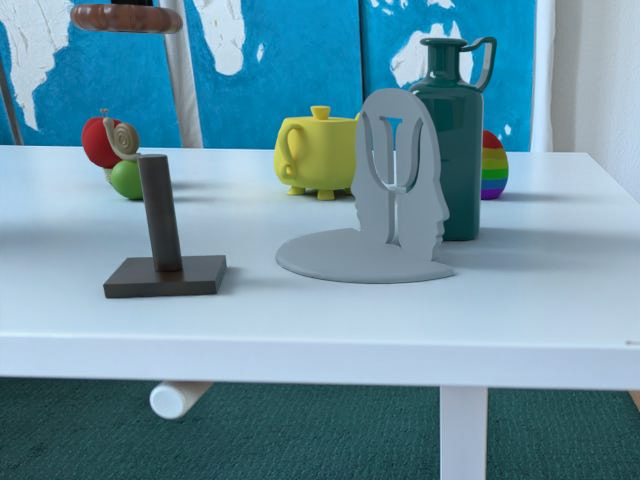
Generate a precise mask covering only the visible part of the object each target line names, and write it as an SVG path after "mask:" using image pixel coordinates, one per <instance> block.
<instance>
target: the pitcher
mask: <svg viewBox="0 0 640 480" xmlns="http://www.w3.org/2000/svg"><path fill="white" fill-rule="evenodd" d="M419 44H420V45H421V46H424V47H427V71H426V74H425V76H424V78H423V79H421V80H419V81H415V82H414V83H412V84H410V85H409V86H408V87H407V88H406V91H409V92H411V93H413V94H414V95H415V96H417V97H418V98H419V99H420V100H421V101H422V102H423V104H424V105H425V107H426V108H427V110H428V112H429V114H430V117H431V119H432V121H433V124H434V127H435V130H436V134H437V139H438V145H439V151H440V161H441V172H440V178H439V181H440V185H441V189H442V193H443V196H444V199H445V202H446V204H447V207H448V210H449V218H448V219H447V220H444V221H443V226H444V234H443V235H441V236H442V238H443V241H469V240H474V239H476V238H477V237H478V236H479V235H480V233H481V200H482V199H481V172H482V139H483V130H484V105H485V104H484V103H485V102H484V96H483V92H484V91H485V90H486V89H487V87H488V85H489V83H490V81H491V79H492V76H493V73H494V66H495V61H496V54H497V47H498V40H497V38H495V36H484V37H479V38H476V39H474V41H473V42H472V43H471V44H470V45H469V41H467V40H466V39H463V38H456V37H423V38H420V40H419ZM483 44H485V47H484V55H483V64H482V69H481V73H480V76H479V79H478V80H477V81H476V83H475V84H471V83H469V82H467V81H466V80H464V78H463V77H462V75H461V54H462V53H470V52H474V51H476V50H477V49H479V48H480V47H481V46H482V45H483ZM423 124H424V123H422V125H421V128H420V132H419V139H418V164H417V172H416V176H415V179H414V181H413V183H412V184H411V185H410V186H407V187H405V194H407V193H408V192H409V191H411V190H412V189H413V187H414V186H415V184H416V181H417V178H418V173H419V165H420V137H421V129H422V126H423Z"/></svg>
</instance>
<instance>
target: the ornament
mask: <svg viewBox="0 0 640 480" xmlns="http://www.w3.org/2000/svg"><path fill="white" fill-rule="evenodd" d="M359 112H360V114H359V118H358V123H357V130H356V141H355V154H356V161H357V165H356V171H355V175H354V179H353V182H352V184H351V192H352V194H351V195H353V196H354V199H355V202H354V207H355V210H356V217H357V219H358V222H359V229H360V230H358V229H356V228H354V227H347V228H338V229H328V230H322V231H317V232H311V233H308V234H303V235H301V236H298V237H295V238H292V239H290V240H288V241H286V242H284V243H283V244H281V245H280V246H279V247H278V248H277V250H276V252H275V260H276V262H277V264H278V265H279V266H281V267H282V268H284V269H286V270H288V271H289V272H292V273H295V274H298V275H302V276H304V277H305V276H306V277H309V278H315V279H320V280H324V281H325V280H326V281H331V282H332V281H334V282H341V283H342V282H343V283H354V284H356V283H357V284H400V283H401V284H402V283H414V282H422V281H430V280H431V281H432V280H436V279H437V280H438V279H443V278H446V277H451V276H454V275H455V270H454V268H453V267H452V266H449V265H447V264H444V263H442V262H439V261H437V260H438V258H439V249H440V246H441V245H442V244H443V241H444V240H443V238H442V236H441V235H443V234H444V226H443V221H444V220H447V219H448V218H449V210H448V207H447V204H446V202H445V199H444V196H443V193H442V189H441V185H440V181H439V178H440V172H441V161H440V151H439V145H438V139H437V134H436V130H435V127H434V124H433V121H432V119H431V117H430V114H429V112H428V110H427V108H426V107H425V105H424V104H423V102H422V101H421V100H420V99H419V98H418V97H417V96H415V95H414V94H413V93H411V92H409V91H407V89H402V88H396V87H388V88H379V89H377V90H374V91H373V92H372V93H370V94H369V96H367V97H366V99H365V100H364V102H363V105H362V106H361V109H360V111H359ZM387 118H391V119H402V122H399V123H398V125H397V127H396V130H395V145H394V132H393V127H392V125H391V122H390V120H387ZM422 123H424V124H423V126H422V129H421V137H420V165H419V173H418V178H417V181H416V184H415V186H414V187H413V189H412V190H411V191H409V192H408V193H407V194H406V193H405V192H399V193H396V194H395V192H396V191H395V190H393V189H390V188H388V187H387V185H395V180H396V188H406V187H407V186H410V185H411V184H412V183H413V181H414V179H415V176H416V172H417V164H418V139H419V132H420V128H421V125H422ZM394 148H395V149H394ZM395 174H396V175H395ZM395 176H396V177H395ZM395 178H396V179H395ZM395 195H396V197H395ZM395 199H396V200H395ZM395 203H396V204H395ZM395 206H396V207H395ZM396 218H397V237H398V242H399V245H400V246H399V245H396V244H394V243H392V242H393V240H394V238H395V233H396Z"/></svg>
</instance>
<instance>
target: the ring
mask: <svg viewBox="0 0 640 480" xmlns="http://www.w3.org/2000/svg"><path fill="white" fill-rule="evenodd" d="M69 18H70V22H71V23H72V24H73V25H74V26H75V28H77V29H79V30H82V31H87V32H99V33H117V34H118V33H119V34H136V33H135V32H118V31H137V32H149V33H141V34H142V35H143V34H144V35H175V34H178V33H180V32H181V31H182V30H183V28H184V20H183V17H182V16H181V14H180V13H179V12H178V11H177V10H174V9H172V8H169V7H160V6H140V5H124V4H111V3H80V4H79V3H78V4H75V5H73V6H72V7H71V9H70V11H69Z"/></svg>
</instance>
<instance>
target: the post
mask: <svg viewBox="0 0 640 480" xmlns="http://www.w3.org/2000/svg"><path fill="white" fill-rule="evenodd" d="M137 160H138V166H139V172H140V179H141V185H142V192H143V198H142V199H143V204H144V210H145V211H144V212H145V216H146V223H147V230H148V237H149V242H150V249H151V254H152V256H140V257H139V256H138V257H137V256H135V257H134V256H133V257H126V258H125V260H123V262H122V263H121V264H120V265H119V266H118V268H116V270H114V271H113V272H112V274H110V276H109V277H108V278H107V279H106V280H105V282H104V283H103V284H102V287H103V288H102V289H103V292H104V297H105V298H106V299H111V298H113V299H114V298H137V297H141V298H142V297H164V296H165V297H166V296H167V297H168V296H190V295H191V296H192V295H215V294H218V292H219V291H218V290H219V288H220V285H221V282H222V280H223V278H224V275H225V273H226V270H227V267H228V264H227V256H226V254H211V255H210V254H209V255H208V254H207V255H182V251H181V250H182V249H181V244H180V235H179V229H178V221H177V215H176V207H175V200H174V193H173V186H172V179H171V170H170V164H169V157H168V155H167V154H165V153H145V154H144V153H143V154H141V155H138V156H137Z"/></svg>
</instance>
